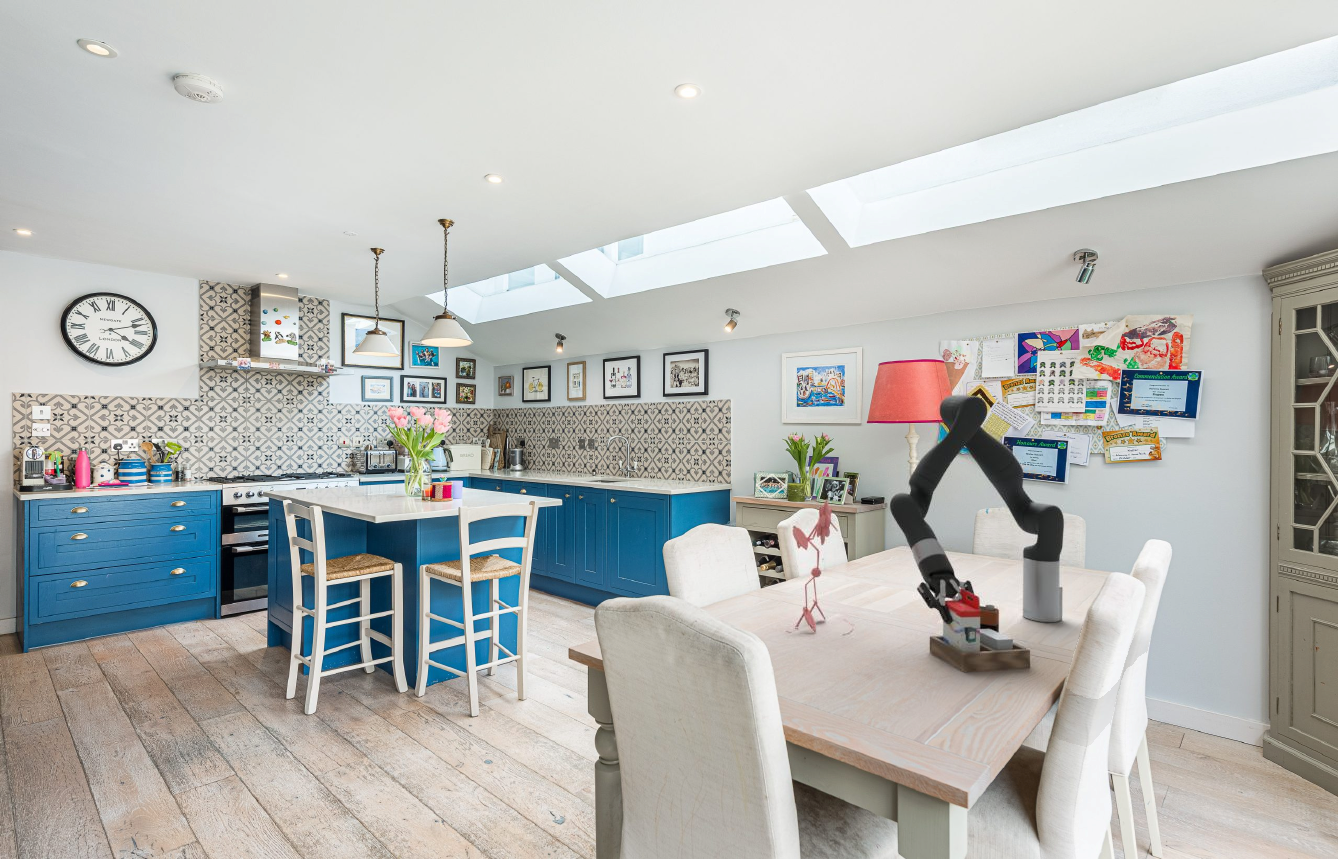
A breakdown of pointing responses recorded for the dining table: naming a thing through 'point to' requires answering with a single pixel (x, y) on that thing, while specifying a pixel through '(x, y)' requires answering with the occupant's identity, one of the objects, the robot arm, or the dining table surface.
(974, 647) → the ink box
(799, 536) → the figurine
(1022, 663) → the slot rack
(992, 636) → the grey block
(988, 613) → the battery
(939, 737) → the dining table surface
